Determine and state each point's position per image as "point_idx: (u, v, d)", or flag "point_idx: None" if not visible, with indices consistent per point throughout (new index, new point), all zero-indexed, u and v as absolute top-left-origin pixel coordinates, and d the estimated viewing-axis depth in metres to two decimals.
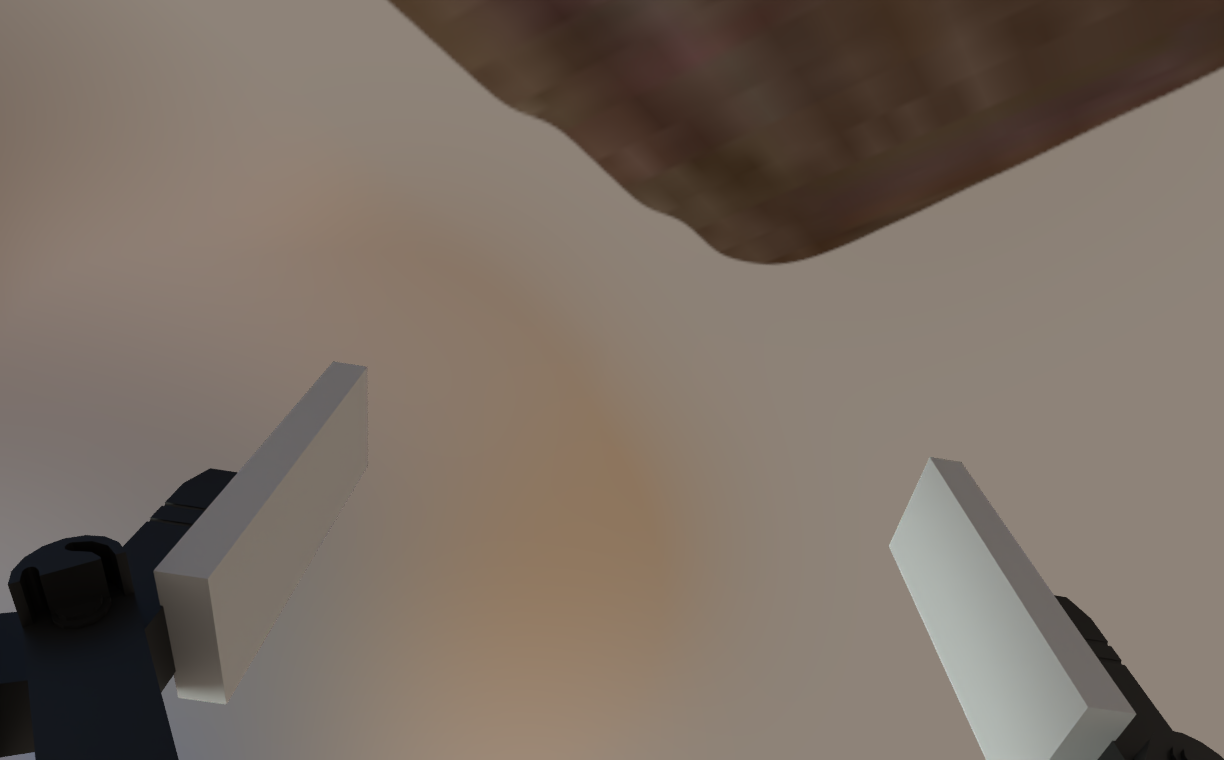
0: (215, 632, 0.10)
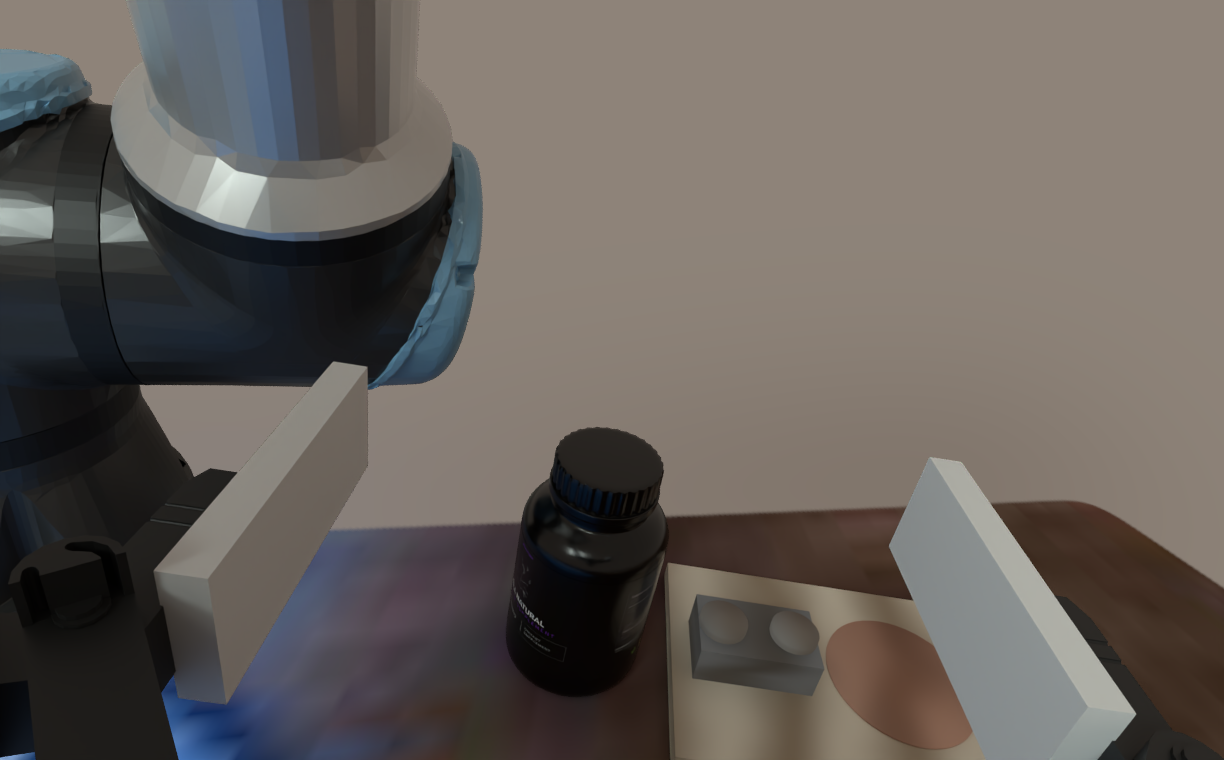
0: (215, 632, 0.10)
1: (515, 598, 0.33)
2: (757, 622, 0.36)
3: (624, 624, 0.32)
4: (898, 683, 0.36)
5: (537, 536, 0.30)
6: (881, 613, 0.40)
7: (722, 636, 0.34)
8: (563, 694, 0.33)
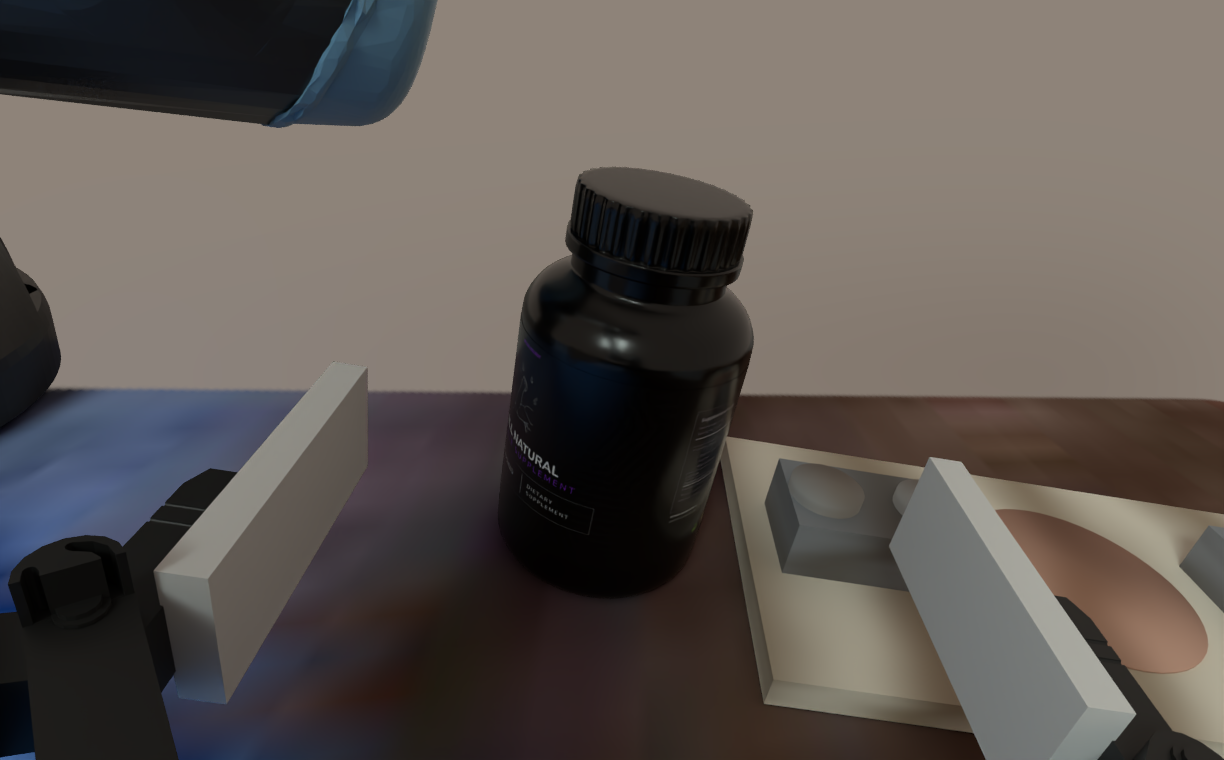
0: (215, 632, 0.10)
1: (512, 442, 0.21)
2: (873, 494, 0.24)
3: (686, 472, 0.20)
4: (1080, 585, 0.24)
5: (547, 316, 0.18)
6: (1027, 502, 0.29)
7: (829, 506, 0.22)
8: (587, 593, 0.21)
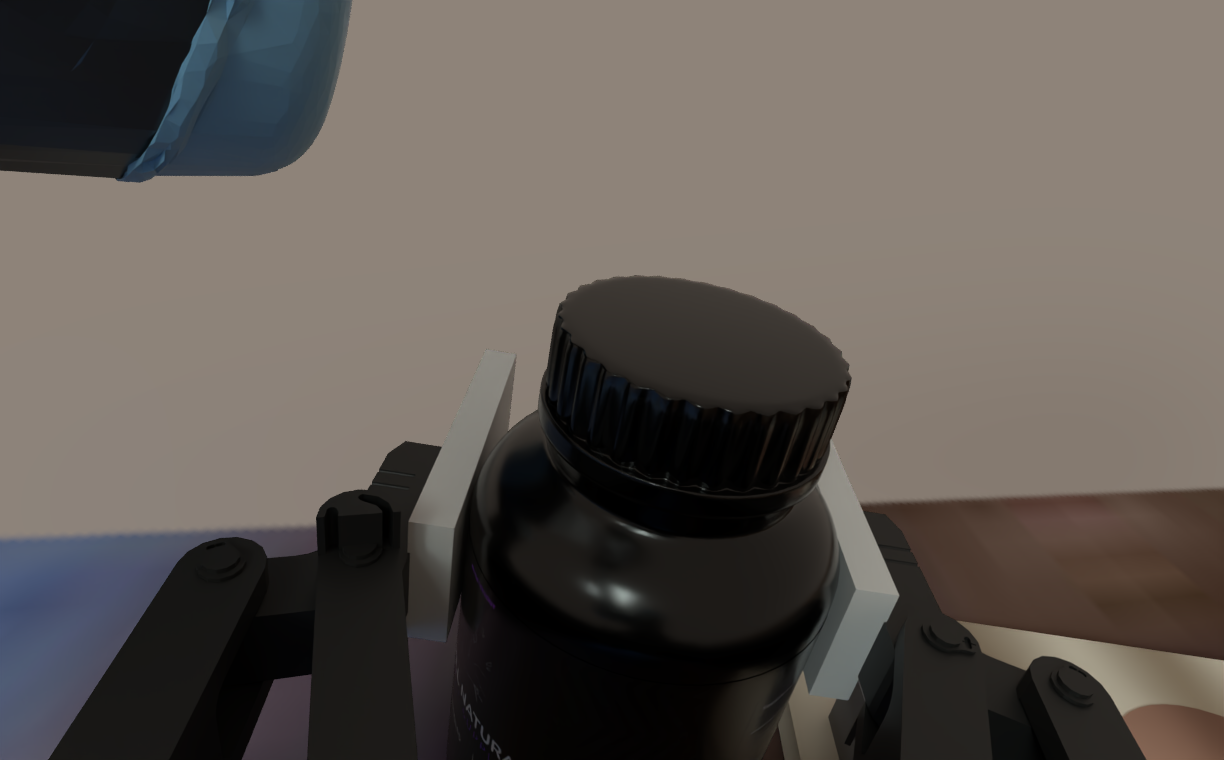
0: (450, 577, 0.12)
1: (459, 696, 0.14)
2: None
3: None
4: None
5: (504, 546, 0.11)
6: (1176, 687, 0.21)
7: None
8: None
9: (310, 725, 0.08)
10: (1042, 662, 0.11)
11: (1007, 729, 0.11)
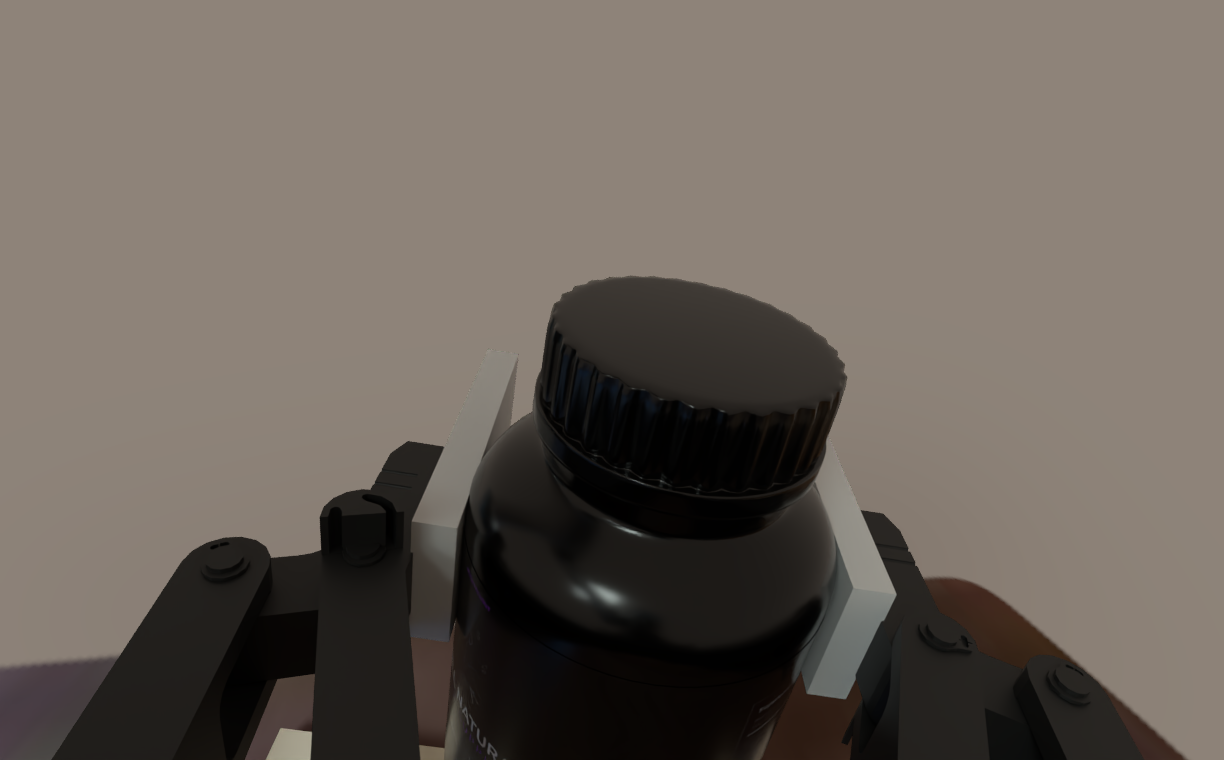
0: (453, 576, 0.12)
1: (455, 699, 0.14)
2: None
3: None
4: None
5: (500, 548, 0.11)
6: None
7: None
8: None
9: (313, 724, 0.08)
10: (1039, 661, 0.11)
11: (1004, 728, 0.11)
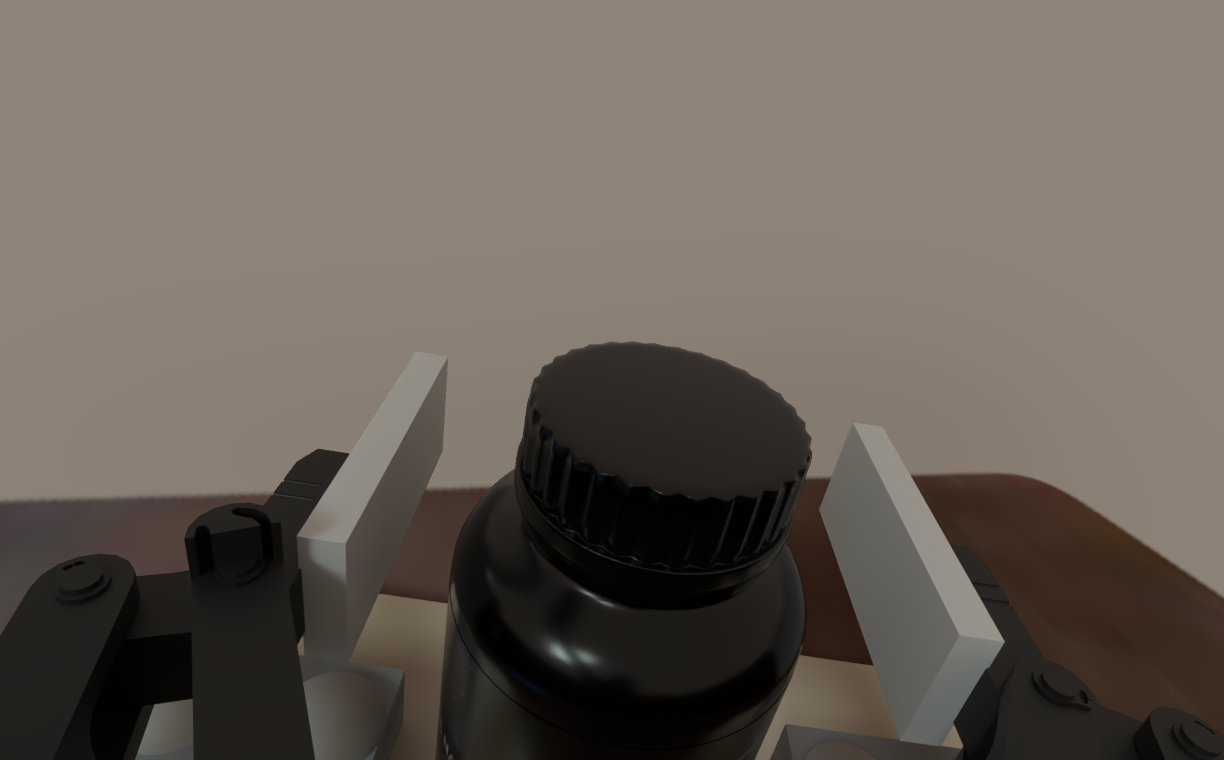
0: (346, 594, 0.11)
1: (442, 744, 0.14)
2: None
3: None
4: None
5: (481, 613, 0.11)
6: None
7: None
8: None
9: None
10: (1165, 713, 0.11)
11: None
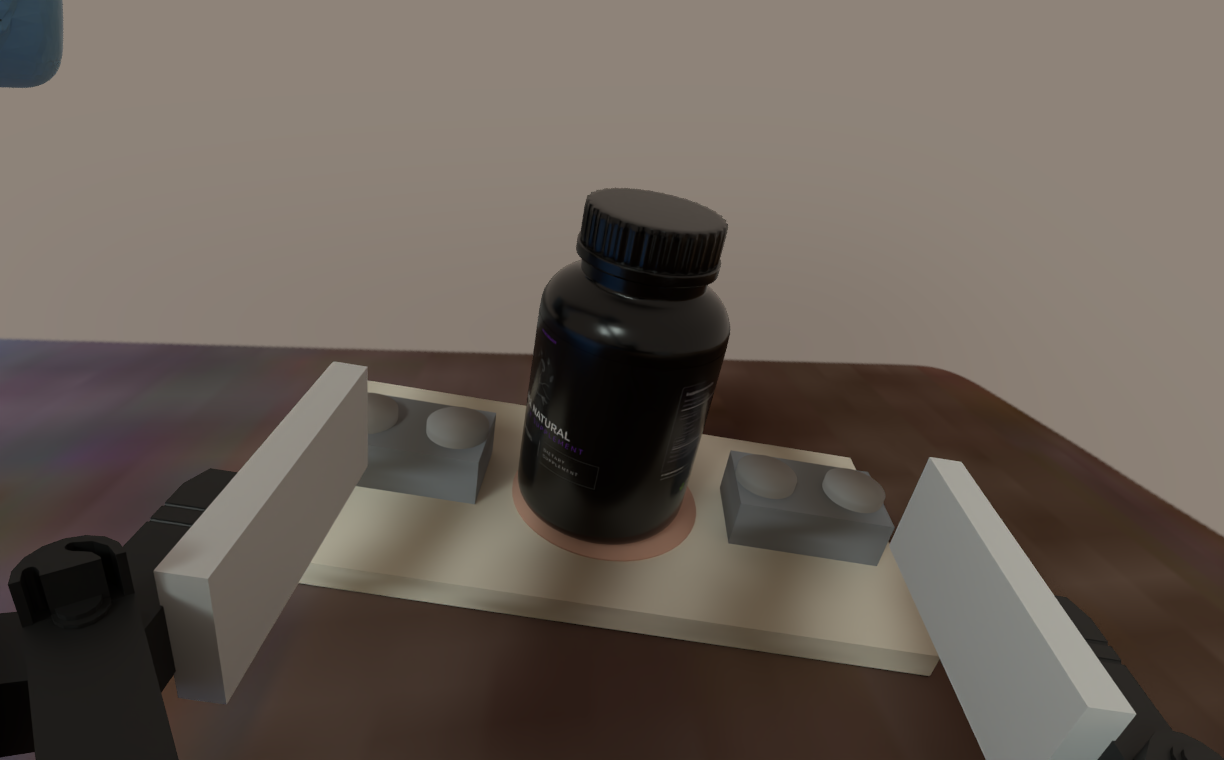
0: (215, 632, 0.10)
1: (531, 414, 0.25)
2: (416, 417, 0.28)
3: (674, 437, 0.24)
4: None
5: (561, 310, 0.23)
6: None
7: None
8: (593, 539, 0.26)
9: None
10: None
11: None
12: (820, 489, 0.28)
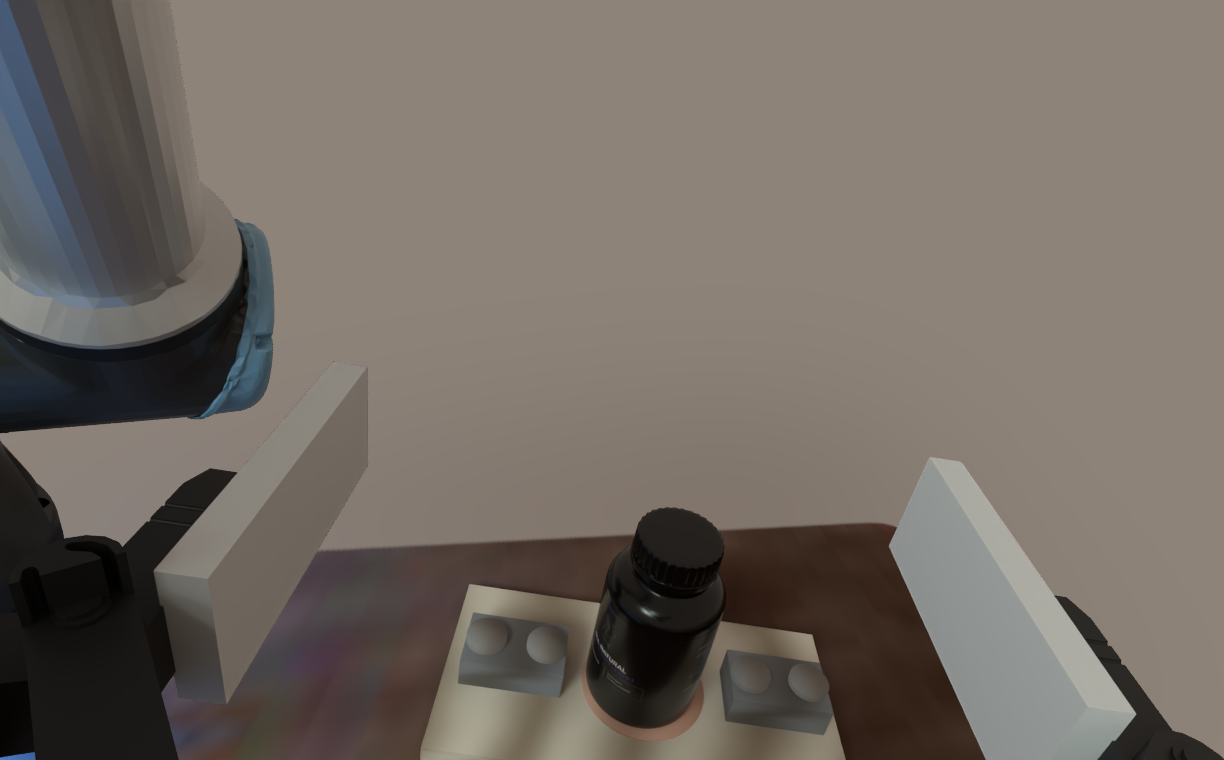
0: (215, 632, 0.10)
1: (599, 648, 0.40)
2: (518, 636, 0.42)
3: (691, 670, 0.38)
4: None
5: (622, 600, 0.37)
6: None
7: (480, 648, 0.41)
8: (638, 727, 0.40)
9: None
10: None
11: None
12: (786, 682, 0.43)
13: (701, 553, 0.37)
